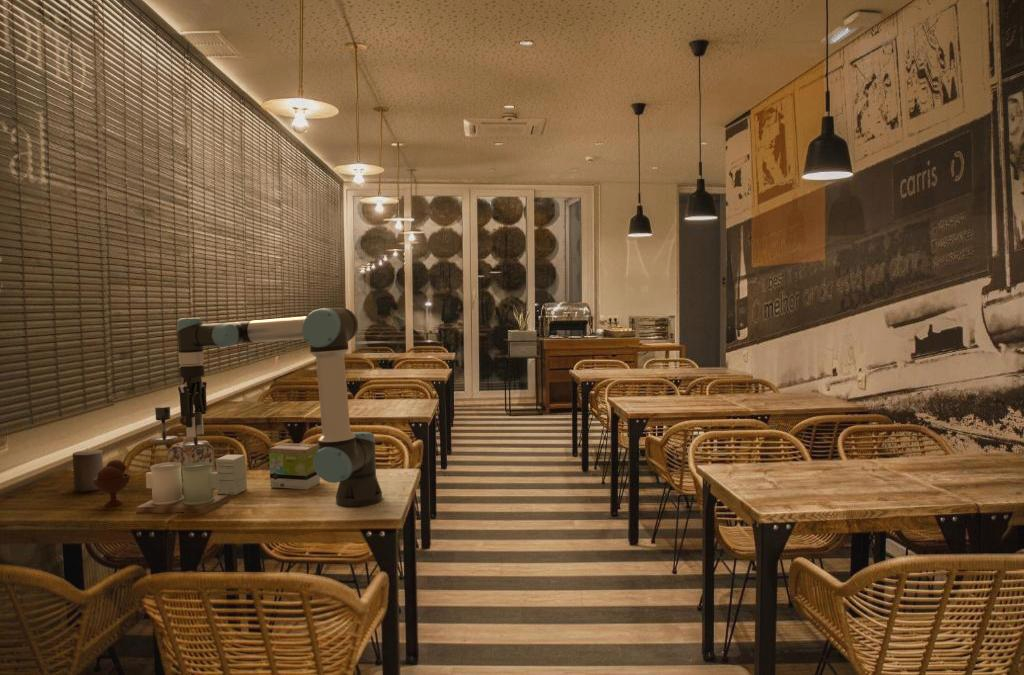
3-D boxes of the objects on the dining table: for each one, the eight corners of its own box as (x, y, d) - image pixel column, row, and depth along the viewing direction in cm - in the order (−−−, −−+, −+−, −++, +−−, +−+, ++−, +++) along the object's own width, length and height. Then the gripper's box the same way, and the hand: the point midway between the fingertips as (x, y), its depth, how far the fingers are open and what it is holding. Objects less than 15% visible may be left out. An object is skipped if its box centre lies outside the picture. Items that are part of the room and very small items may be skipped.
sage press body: (177, 505, 238) (175, 468, 237) (193, 497, 247) (191, 462, 246) (210, 505, 236) (208, 468, 236) (225, 497, 246) (223, 462, 245)
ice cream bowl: (106, 500, 253) (104, 457, 252) (138, 499, 252) (135, 456, 252) (88, 509, 242) (85, 464, 241) (121, 508, 242) (118, 464, 241)
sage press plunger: (177, 448, 237) (175, 414, 237) (191, 443, 245) (189, 410, 245) (200, 448, 236) (199, 414, 236) (213, 443, 244) (211, 410, 244)
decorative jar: (194, 479, 279) (192, 433, 278) (216, 482, 274) (214, 435, 272) (167, 487, 268) (164, 439, 267) (190, 490, 263) (187, 441, 262)
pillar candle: (72, 493, 263) (70, 452, 262) (76, 487, 272) (74, 447, 271) (103, 490, 267) (101, 449, 266) (105, 484, 276) (103, 444, 275)
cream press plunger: (182, 438, 246) (180, 405, 245) (168, 443, 238) (166, 409, 237) (160, 438, 246) (158, 405, 246) (145, 443, 238) (143, 409, 238)
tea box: (269, 488, 263) (267, 448, 262) (284, 481, 273) (282, 442, 272) (307, 490, 259) (305, 449, 258) (321, 482, 269) (319, 443, 268)
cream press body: (189, 497, 247) (187, 462, 247) (173, 505, 238) (171, 468, 237) (157, 496, 249) (155, 462, 248) (139, 505, 239) (137, 468, 238)
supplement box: (229, 488, 264) (227, 454, 263) (247, 489, 263) (246, 454, 262) (217, 494, 257) (215, 458, 256) (235, 494, 255) (234, 459, 255)
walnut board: (228, 500, 248) (228, 495, 248) (206, 512, 234) (206, 507, 234) (162, 500, 251) (161, 495, 251) (136, 512, 237) (136, 507, 237)
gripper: (194, 362, 248) (198, 430, 250) (165, 367, 231) (169, 440, 232) (215, 362, 247) (219, 430, 249) (188, 367, 230) (191, 440, 232)
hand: (195, 435), depth 241 cm, fingers closed on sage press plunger, 4 cm apart
